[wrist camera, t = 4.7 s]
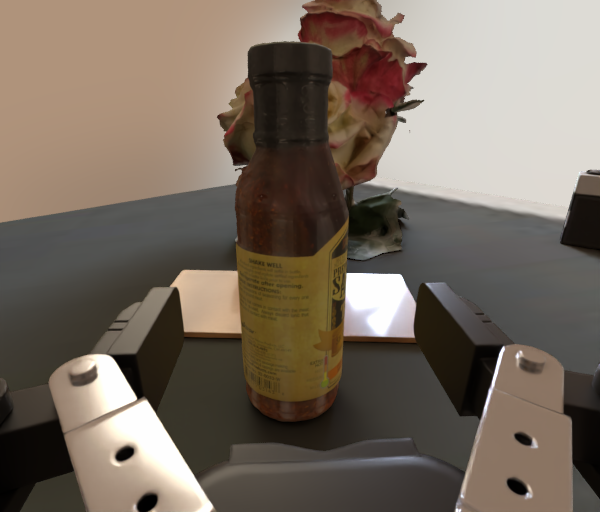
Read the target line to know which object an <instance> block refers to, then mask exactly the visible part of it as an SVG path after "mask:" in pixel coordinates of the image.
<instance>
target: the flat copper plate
mask: <svg viewBox="0 0 600 512" xmlns="http://www.w3.org/2000/svg"><path fill="white" fill-rule="evenodd" d="M170 287H177V288H178V290H179V294H180V301H181V309H182V317H183V325H184V337H208V338H242V336H241V318H240V303H239V287H238V272H237V271H210V270H183V271H182V272H181V273H180V274H179V276H178V277H177V278H176V279H175V281H174V282H173V283H172V284H171V286H170ZM415 311H416V302H415V301H414V299H413V297H412V295H411V293H410V291H409V289H408V287H407V286H406V284H405V282H404V280H403V278H402V276H401V275H396V274H349V273H347V277H346V294H345V314H344V333H343V341H361V342H400V343H417V342H416V340H415V336H414V329H413V325H414V317H415Z"/></svg>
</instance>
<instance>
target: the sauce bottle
mask: <svg viewBox="0 0 600 512" xmlns="http://www.w3.org/2000/svg"><path fill="white" fill-rule="evenodd" d="M332 77H333V67H332V51H331V50H330V49H329V48H327V47H325V46H323V45H319V44H316V43H307V42H294V41H293V42H286V41H284V42H272V43H262V44H258V45H254V46H252V47H251V48H250V49H249V51H248V79H249V83H250V87H251V89H252V90H253V100H254V104H253V105H254V127H255V130H254V133H253V139H254V143H255V145H256V149H255V152H254V154H253V156H252V158H251V160H250V162H249V164H248V166H247V168H246V170H245V171H244V172H243V173H242V176H241V179H240V182H239V185H238V187H237V190H236V198H235V201H236V202H235V211H236V215H237V216H236V217H237V234H238V240H237V242H236V255H237V272H238V287H239V303H240V318H241V336H242V350H243V365H244V376H245V379H246V390H247V394H248V396H249V399H250V401H251V403H252V404H253V405H254V406H255V407H256V408H257V409H259V410H260V412H261V413H263V414H264V415H266V416H268V417H270V418H273V419H277V420H278V421H290V422H296V421H302V420H308V419H312V418H315V417H318V416H320V415H321V414H323V412H326V410H327V409H328V408H330V407H331V405H332V404H333V402H334V400H335V398H336V395H337V390H338V386H339V384H338V382H339V380H340V377H341V374H342V354H343V333H344V314H345V294H346V277H347V268H346V267H347V246H348V232H349V231H348V223H349V212H348V208H347V205H346V201H345V198H344V194H343V191H342V187H341V184H340V180H339V177H338V173H337V170H336V166H335V163H334V159H333V156H332V152H331V149H330V145H329V135H328V88H329V85H330V83H331V80H332Z"/></svg>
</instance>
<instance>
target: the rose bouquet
mask: <svg viewBox="0 0 600 512" xmlns="http://www.w3.org/2000/svg"><path fill="white" fill-rule="evenodd" d="M302 7H303V8H304V9H306V10H307V12H308V13H307V14H305V15H304V16H302V17H301V18H300V21H301V30H300V31H299V33H298V36H299V39H300V41H301V42H307V43H316V44H319V45H323V46H325V47H327V48H329V49H330V50H331V51H332V67H333V77H332V80H331V83H330V85H329V88H328V135H329V145H330V149H331V152H332V156H333V159H334V163H335V166H336V170H337V173H338V177H339V180H340V184H341V187H342V190H344V189H346V195H345V197H344V198H345V201H346V205H347V208H348V212H349V223H348V231H349V232H348V246H347V258H353V259H359V260H366V259H368V258H371V257H373V256H377V255H379V254H382V253H386V252H389V251H396V250H401V249H402V248H401V245H400V244H401V243H400V242H402V239H401V237H402V232H401V231H400V229H399V223H398V218H401V217H403V218H406V219H409V217H408V215H407V214H406V212H405V211H404V209H401V208H399V207H398V206H399V205H401V201H400V200H398V199H393V198H392V197H391V195H392V193H393V192H394V191H396V190H397V189H398V188H396V189H394V190H392V191H390V192H387V193H384V194H381V195H377V196H373V197H370V198H368V197H367V199H365V200H362V201H360V202H354V200H353V189H354V186H355V185H358V184H361V183H364V182H367V181H370V180H372V179H373V178H375V176H376V175H377V165H378V162H379V160H380V158H381V157H382V155H383V152H384V151H385V149H386V147H387V146H388V145H389V143H390V141H391V138H392V135H393V133H394V131H395V129H396V127H397V123H398V121H400V122H403V123H406V119H405V118H403V117H400V116H397V112H400V111H405V110H410V109H413V108H415V107H417V106H418V105H420V103H422V102H423V101H424V100H422V101H420V100H411V101H408V102H405V103H403V102H404V99H405V98H404V97H405V96H406V95H407V96H408V95H410V93H409V91H410V90H411V89H413V87H411V86H409V85H408V84H407V83H408V82H410V81H411V79H412V78H413V77H414V76H415V75H419V74H420V72H421V71H423V70H424V68H425V67H426V65H427V63H416V62H413V63H411V64H410V63H409V64H405V63H404V61H405V57H408V56H411V57H416V51H415V48H414V46H413V44H412V43H408V42H406V41H405V40H403V39H401V38H399V37H396V38H395V37H394V35H393V34H392V33H393V32H392V31H393V29H394V25H395V24H399V23H401V22H402V20H403V19H404V15H402V14H401V13H398V14H397V15H396V16H395V17H394V18H392V19H391V20H390V21H387V20H386V18H384V17H383V15H381V12H382V11H381V7H382V6H381V5H380V4H379V3H378V2H377V0H315V1H311V2H308V3H306V4H304V5H303V6H302ZM235 94H236V96H237V98H236V99H232V100H231V102H230V103H229V105H230V106H231V107H232V108H233V109H232V110H230V111H228V112H225V113H221V114H219V115H218V116H217V118H218V119H219V120H220V125H221V127H222V128H223V129H224V131H226V133H225V135H224V138H225V139H223V141H224V145H225V147H226V148H227V149H228V151H229V153H230V154H231V157H232V159H233V165H234V166H240V165H247V166H248V164H249V162H250V160H251V158H252V156H253V154H254V152H255V149H256V145H255V143H254V139H253V133H254V130H255V127H254V105H253V104H254V100H253V90H252V89H251V87H250V83H249V79H248V78H246V79H245V82H244V83H243V84H241V85H240V86H238V87H237V88H236V90H235ZM385 111H386V112H385ZM247 166H246V167H243V168H238V169H241V170H242V173H243V172H244V171H245V170H246V168H247ZM238 169H235V171H236V170H238ZM241 176H242V174H241V175H240V176H239V178H238V180H237V183H236V186H237V187H238V185H239V182H240V179H241ZM385 227H386V228H387V229H386V228H385ZM237 240H238V237H237V238H236V239H235V241H237Z"/></svg>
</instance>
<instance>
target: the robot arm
mask: <svg viewBox="0 0 600 512" xmlns="http://www.w3.org/2000/svg"><path fill="white" fill-rule="evenodd" d="M413 329H414V336H415V340H416V342H417V344H418V346H419V347H420V349H421V351H422V352H423V354H424V356H425V358H426V359H427V361H428V363H429V364H430V366H431V368H432V369H433V371H434V373H435V375H436V376H437V378H438V380H439V381H440V383H441V385H442V387H443V388H444V390H445V392H446V393H447V395H448V397H449V399H450V400H451V402H452V404H453V405H454V407H455V409H456V410H457V412H458V414H459V416H478V418H479V420H480V423H479V427H478V430H477V434H476V437H475V441H474V444H473V448H472V451H471V455H470V458H469V462H468V465H467V469H466V472H463V471H462V470H460V469H459V468H457V467H455V466H453V465H451V464H449V463H447V462H445V461H442V460H440V459H437V458H435V457H432V456H428V455H425V454H420V453H418V450H417V448H416V445H415V443H414V440H413V438H392V439H368V440H365V441H361V442H358V443H354V444H350V445H347V446H343V447H340V448H336V449H333V450H329V451H318V450H312V449H307V448H302V447H297V446H291V445H286V444H281V443H254V444H231V449H230V456H229V460H227V461H224V462H221V463H218V464H216V465H213V466H211V467H209V468H207V469H205V470H203V471H201V472H199V473H198V474H196V475H195V476H194V475H193V473H192V472H191V470H190V468H189V467H188V465H187V463H186V462H185V460H184V459H183V457H182V455H181V454H180V452H179V451H178V449H177V447H176V446H175V444H174V442H173V441H172V439H171V438H170V436H169V434H168V433H167V431H166V430H165V428H164V426H163V425H162V423H161V421H160V420H159V418H158V417H157V415H156V411H157V409H158V406H159V404H160V401H161V399H162V396H163V394H164V392H165V389H166V387H167V384H168V382H169V379H170V377H171V374H172V372H173V369H174V367H175V364H176V362H177V359H178V357H179V354H180V352H181V349H182V347H183V342H184V325H183V317H182V309H181V301H180V294H179V290H178V288H177V287H153V288H152V289H151V290H150V291H149V293H148V294H147V295H146V297H145V298H144V300H143V301H142V302H135V303H134V304H132V305H130V306H129V307H127V308H126V309H124V310H123V311H121V313H120V314H119V315H118V317H117V318H116V319H115V321H114V323H112V324H111V326H110V327H109V328H108V331H106V332H105V333H104V335H103V336H102V337H101V339H100V340H99V341H98V343H97V344H96V345H95V346H94V348H93V349H92V350H91V352H90V353H89V354H88V355H86V356H82V357H78V358H76V359H73V360H71V361H69V362H67V363H65V364H63V365H62V366H60V367H59V368H58V369H57V370H56V371H55V372H54V373H53V374H52V375H51V377H50V379H49V383H47V384H43V385H39V386H35V387H30V388H26V389H21V390H17V391H13V392H10V391H9V388H8V386H7V383H6V381H5V380H4V379H2V378H0V512H20V510H21V508H22V506H23V505H24V503H25V501H26V500H27V498H28V496H29V494H30V493H31V491H32V489H33V488H34V486H35V484H36V483H37V482H40V481H43V480H47V479H50V478H53V477H56V476H60V475H63V474H66V473H69V472H73V471H75V475H76V478H77V481H78V485H79V488H80V491H81V495H82V498H83V501H84V505H85V508H86V511H87V512H573V482H572V463H573V464H574V466H575V467H576V468H577V470H578V471H579V472H580V474H581V475H582V476H583V478H584V479H585V480H586V482H587V483H588V484H589V485H590V487H591V488H592V489H593V491H594V492H595V493H596V495H597V496H598V497H599V499H600V363H599V365H598V367H597V370H596V372H595V375H588V374H582V373H577V372H571V371H565V370H564V368H563V366H562V365H561V363H560V362H559V361H558V360H557V359H555V358H554V357H553V356H551V355H550V354H548V353H546V352H544V351H542V350H539V349H537V348H534V347H530V346H526V345H518V344H514V343H513V342H512V341H511V340H510V339H509V338H508V337H507V336H506V335H505V334H504V333H503V332H502V331H501V330H500V329H499V328H498V327H497V326H496V325H495V324H494V323H492V321H491V320H490V319H489V318H488V317H487V316H486V315H484V313H483V312H482V311H481V310H480V309H479V308H478V307H477V306H476V305H475V304H474V303H472V302H470V301H468V300H466V299H465V298H463V297H458V295H457V294H456V293H455V292H454V291H453V290H452V289H451V288H450V287H449V286H448V285H447V284H446V283H422V284H421V285H420V287H419V291H418V297H417V304H416V311H415V317H414V325H413Z"/></svg>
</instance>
